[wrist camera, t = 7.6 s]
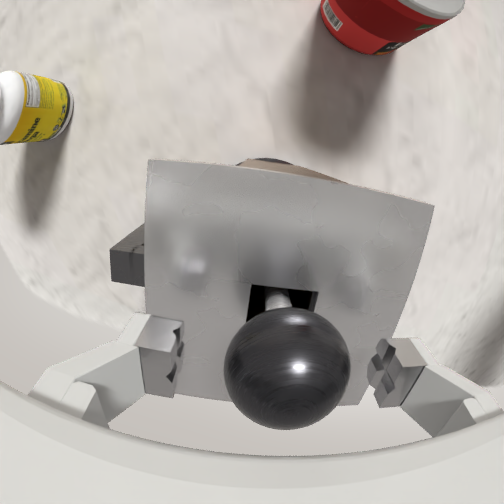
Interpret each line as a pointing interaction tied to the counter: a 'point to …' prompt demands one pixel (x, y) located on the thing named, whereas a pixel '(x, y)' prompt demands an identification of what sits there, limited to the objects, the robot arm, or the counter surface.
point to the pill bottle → (32, 107)
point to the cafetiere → (269, 257)
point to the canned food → (384, 21)
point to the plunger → (286, 365)
